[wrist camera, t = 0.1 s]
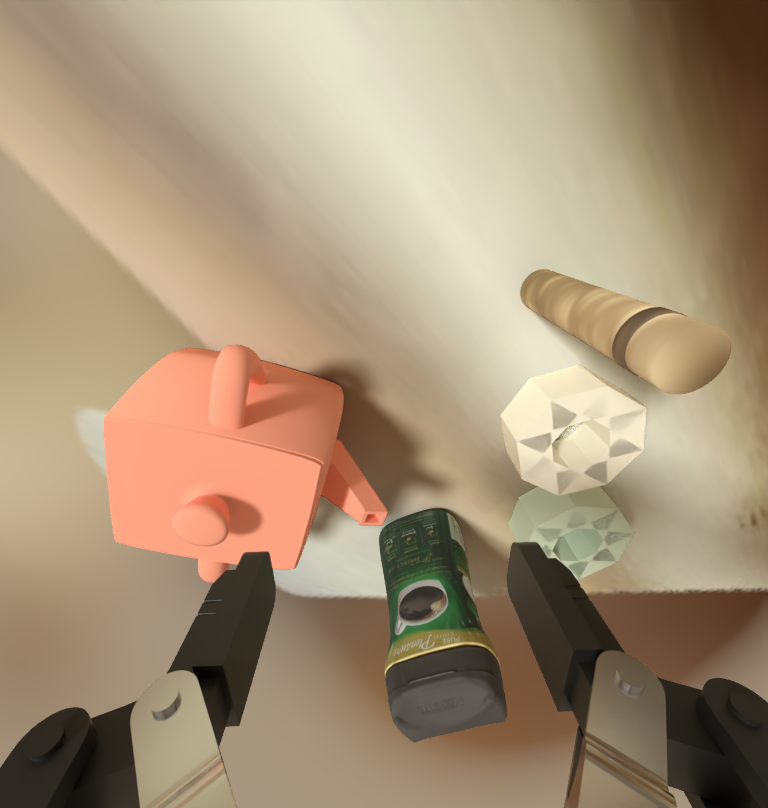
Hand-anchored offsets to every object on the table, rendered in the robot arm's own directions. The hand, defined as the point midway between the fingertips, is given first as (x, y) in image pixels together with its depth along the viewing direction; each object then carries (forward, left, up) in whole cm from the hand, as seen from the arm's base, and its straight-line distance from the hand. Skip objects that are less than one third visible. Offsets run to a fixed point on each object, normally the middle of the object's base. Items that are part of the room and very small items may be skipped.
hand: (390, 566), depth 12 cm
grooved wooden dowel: (-10, +10, -22) cm, 26 cm away
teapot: (+12, -4, -23) cm, 26 cm away
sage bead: (+9, +29, -22) cm, 37 cm away
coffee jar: (+19, +16, -23) cm, 33 cm away
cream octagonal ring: (-1, +20, -22) cm, 30 cm away
